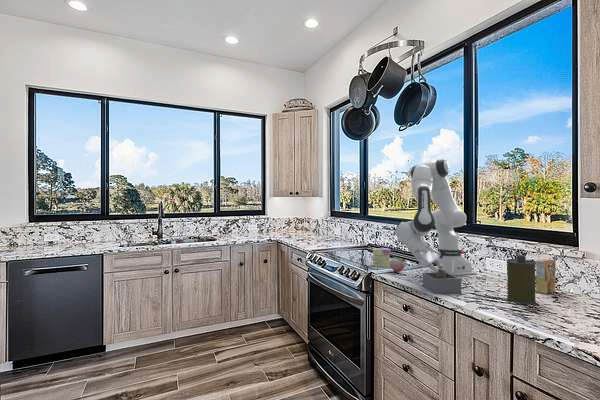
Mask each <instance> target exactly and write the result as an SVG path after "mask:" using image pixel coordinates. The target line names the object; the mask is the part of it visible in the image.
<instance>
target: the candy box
mask: <svg viewBox="0 0 600 400" xmlns="http://www.w3.org/2000/svg"><path fill="white" fill-rule="evenodd" d="M535 263H536V264H535V293H540V294H545V295H546V294H550V293H554V292H556V260H555V259H550V258H544V259H536V261H535Z"/></svg>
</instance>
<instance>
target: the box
mask: <svg viewBox="0 0 600 400" xmlns="http://www.w3.org/2000/svg"><path fill="white" fill-rule="evenodd" d="M390 257H391V256H390V249H389V247H388V248H386V247H384V248H382V247H379V248H378V247H377V248H375V247H373V248H372V266H373V267H375V268H376V267H379V268H380V267H382V268H385V267H386V268H391V267H390V261H391V259H390Z"/></svg>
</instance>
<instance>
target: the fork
mask: <svg viewBox="0 0 600 400" xmlns="http://www.w3.org/2000/svg"><path fill="white" fill-rule="evenodd" d="M406 263H407V265H408V264H409V265H414V266H416V265H418V264H417V263H414V262H413V263H412V262H411V261H409V260H406V261H405V264H406Z"/></svg>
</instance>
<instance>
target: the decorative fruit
mask: <svg viewBox="0 0 600 400" xmlns="http://www.w3.org/2000/svg"><path fill="white" fill-rule="evenodd" d="M405 266H406V261H404V259H402V258H401V257H397V256H394V257H391V259H390V267H389V268H390V269H391V270H393V272H396V273H399V272H401V271H403V270H404V269H405V268H406V267H405Z"/></svg>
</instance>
